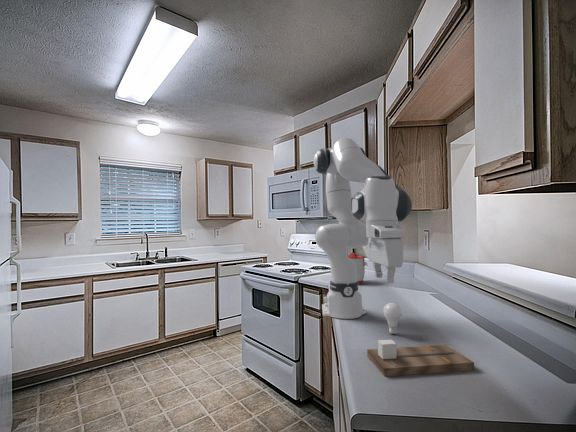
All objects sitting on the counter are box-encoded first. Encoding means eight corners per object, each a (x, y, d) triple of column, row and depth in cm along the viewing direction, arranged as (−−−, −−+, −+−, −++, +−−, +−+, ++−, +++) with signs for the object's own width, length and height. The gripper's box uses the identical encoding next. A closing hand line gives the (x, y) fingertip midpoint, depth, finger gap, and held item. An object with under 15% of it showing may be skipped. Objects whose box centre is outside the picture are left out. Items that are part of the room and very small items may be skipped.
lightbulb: (379, 332, 111) (379, 301, 111) (393, 329, 113) (393, 299, 113) (391, 338, 105) (391, 306, 105) (406, 335, 107) (405, 303, 107)
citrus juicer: (367, 286, 189) (366, 253, 189) (339, 284, 194) (338, 253, 195) (368, 281, 204) (368, 251, 204) (342, 280, 209) (342, 250, 210)
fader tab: (382, 359, 84) (382, 344, 84) (378, 354, 87) (377, 340, 87) (396, 358, 84) (396, 343, 85) (391, 353, 87) (391, 339, 87)
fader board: (384, 376, 79) (384, 367, 79) (367, 356, 91) (367, 348, 91) (474, 369, 82) (473, 361, 82) (446, 351, 94) (445, 343, 94)
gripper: (361, 231, 98) (363, 275, 98) (382, 231, 78) (384, 286, 77) (381, 231, 98) (383, 274, 98) (407, 231, 78) (409, 286, 77)
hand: (384, 280), depth 87 cm, fingers open, 8 cm apart
